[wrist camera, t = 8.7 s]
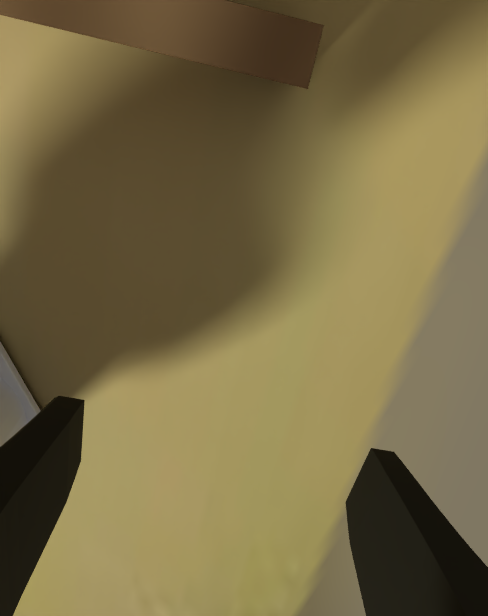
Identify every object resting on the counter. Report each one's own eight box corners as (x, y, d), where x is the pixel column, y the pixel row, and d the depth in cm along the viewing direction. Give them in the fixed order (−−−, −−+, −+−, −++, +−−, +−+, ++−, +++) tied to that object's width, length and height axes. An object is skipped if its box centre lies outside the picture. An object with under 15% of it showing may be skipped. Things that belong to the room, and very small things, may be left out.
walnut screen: (-128, -19, 15) (-248, -45, 11) (-136, -78, 14) (-267, -126, 10) (294, 83, 16) (307, 88, 12) (305, 34, 15) (323, 25, 12)
